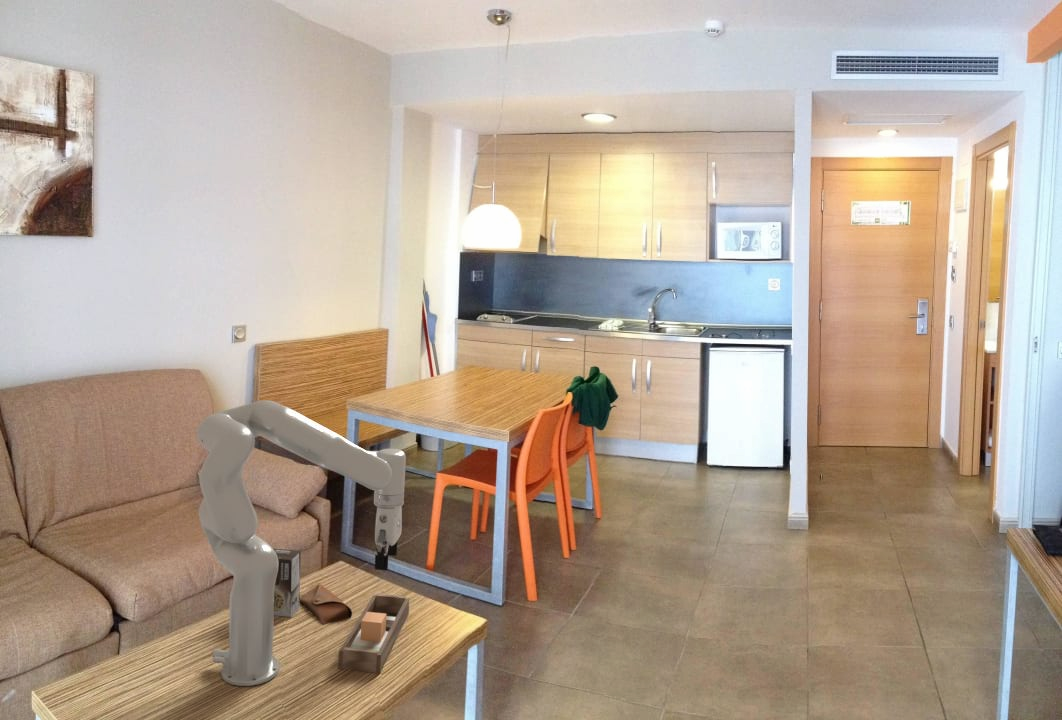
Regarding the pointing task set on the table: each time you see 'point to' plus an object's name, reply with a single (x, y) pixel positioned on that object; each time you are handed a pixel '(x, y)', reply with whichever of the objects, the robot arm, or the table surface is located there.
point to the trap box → (374, 653)
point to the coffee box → (287, 583)
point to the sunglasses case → (325, 605)
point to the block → (373, 626)
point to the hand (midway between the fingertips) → (386, 561)
